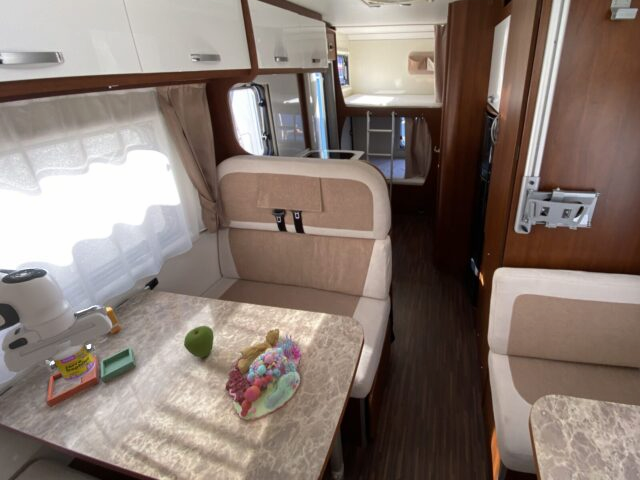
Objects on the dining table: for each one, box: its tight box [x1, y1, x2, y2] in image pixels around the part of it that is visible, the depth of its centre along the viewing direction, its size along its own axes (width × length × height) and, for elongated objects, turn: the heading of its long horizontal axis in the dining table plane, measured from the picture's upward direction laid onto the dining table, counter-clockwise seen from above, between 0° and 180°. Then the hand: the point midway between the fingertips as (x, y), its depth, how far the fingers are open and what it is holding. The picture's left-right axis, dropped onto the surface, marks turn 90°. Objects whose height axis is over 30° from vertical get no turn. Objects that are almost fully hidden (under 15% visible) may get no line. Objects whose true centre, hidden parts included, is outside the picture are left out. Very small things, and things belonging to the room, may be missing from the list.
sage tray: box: [100, 346, 136, 383], centre depth 103 cm, size 8×8×3 cm
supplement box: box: [105, 306, 122, 335], centre depth 117 cm, size 3×4×10 cm
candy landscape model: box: [225, 327, 302, 421], centre depth 96 cm, size 25×24×9 cm
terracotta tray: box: [46, 355, 100, 408], centre depth 99 cm, size 11×11×3 cm
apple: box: [183, 325, 214, 359], centre depth 105 cm, size 9×8×12 cm
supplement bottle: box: [50, 340, 95, 382], centre depth 85 cm, size 7×7×13 cm
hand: (73, 359), depth 86 cm, fingers closed on supplement bottle, 6 cm apart
